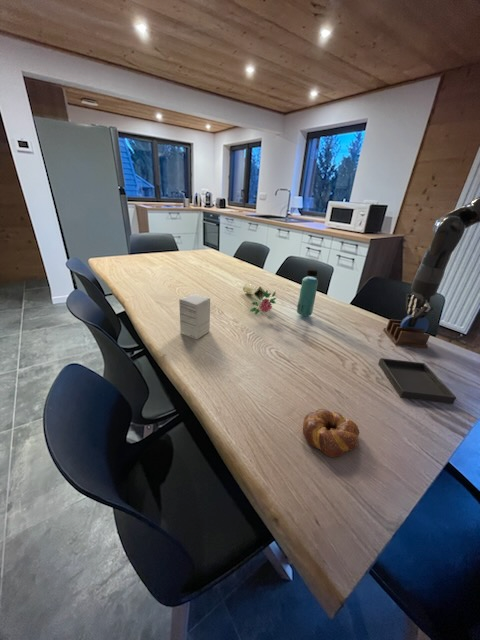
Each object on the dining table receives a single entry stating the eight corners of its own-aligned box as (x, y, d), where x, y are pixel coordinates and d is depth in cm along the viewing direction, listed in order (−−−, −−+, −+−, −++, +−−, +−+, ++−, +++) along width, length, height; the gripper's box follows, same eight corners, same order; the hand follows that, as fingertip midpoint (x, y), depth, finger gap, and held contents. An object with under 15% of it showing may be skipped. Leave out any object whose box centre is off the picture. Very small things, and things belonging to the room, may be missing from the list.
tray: (421, 368, 81) (424, 363, 80) (453, 403, 67) (456, 397, 66) (378, 363, 82) (380, 358, 81) (400, 397, 68) (403, 391, 67)
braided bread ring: (342, 414, 61) (346, 401, 60) (370, 456, 52) (376, 443, 50) (293, 417, 59) (296, 404, 58) (312, 461, 50) (316, 448, 48)
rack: (411, 333, 103) (416, 321, 101) (427, 348, 93) (432, 335, 91) (383, 330, 104) (387, 318, 101) (395, 344, 94) (400, 331, 91)
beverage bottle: (313, 315, 111) (323, 269, 103) (308, 321, 106) (318, 272, 97) (298, 311, 114) (307, 266, 105) (293, 316, 109) (301, 269, 100)
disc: (414, 339, 99) (432, 320, 95) (416, 341, 97) (434, 322, 94) (394, 329, 98) (411, 309, 94) (396, 331, 96) (414, 311, 93)
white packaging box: (193, 325, 95) (193, 292, 90) (210, 331, 92) (211, 297, 86) (179, 333, 89) (178, 298, 84) (196, 340, 86) (196, 304, 81)
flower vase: (253, 308, 133) (280, 325, 100) (230, 301, 129) (251, 317, 96) (261, 286, 131) (291, 296, 98) (238, 278, 127) (261, 286, 94)
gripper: (452, 286, 82) (430, 335, 89) (428, 274, 94) (410, 318, 102) (427, 284, 82) (407, 332, 90) (406, 272, 95) (390, 316, 102)
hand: (409, 325), depth 96 cm, fingers closed on disc, 1 cm apart
